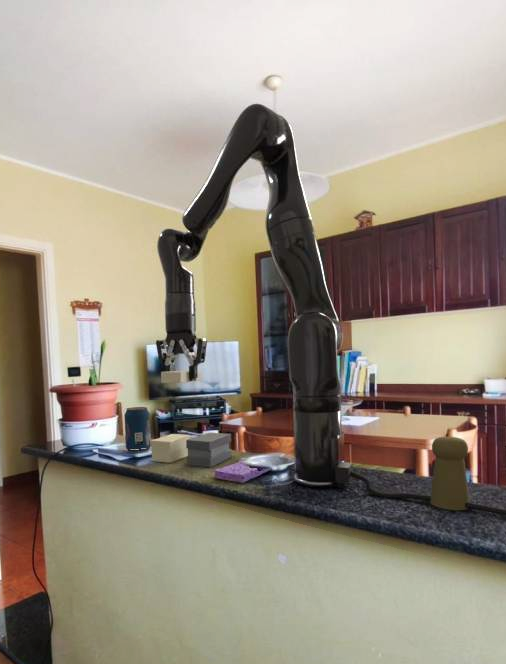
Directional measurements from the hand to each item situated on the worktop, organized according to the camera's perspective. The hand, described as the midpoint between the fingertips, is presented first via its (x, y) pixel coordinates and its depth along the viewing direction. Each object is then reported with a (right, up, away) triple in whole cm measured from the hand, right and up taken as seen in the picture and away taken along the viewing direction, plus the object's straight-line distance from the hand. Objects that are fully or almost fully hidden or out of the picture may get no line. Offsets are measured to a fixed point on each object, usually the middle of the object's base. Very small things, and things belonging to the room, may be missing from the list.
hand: (182, 380), depth 108 cm
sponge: (+15, -21, -15) cm, 30 cm away
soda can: (-13, -20, +13) cm, 27 cm away
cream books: (-3, -20, +3) cm, 20 cm away
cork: (+48, -21, -37) cm, 64 cm away
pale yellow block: (0, 0, 0) cm, 0 cm away
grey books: (+7, -20, -2) cm, 21 cm away
